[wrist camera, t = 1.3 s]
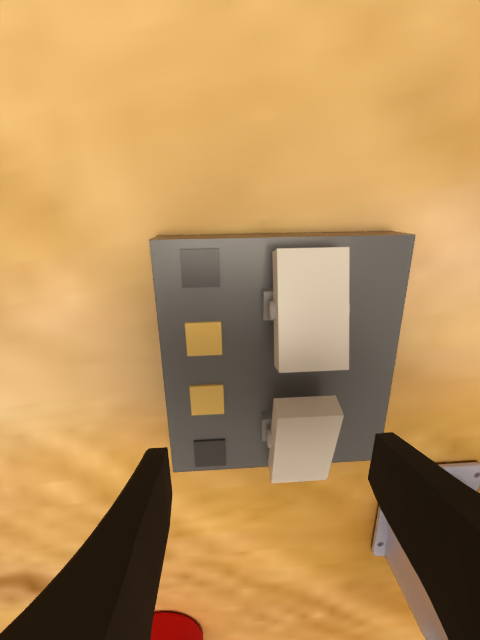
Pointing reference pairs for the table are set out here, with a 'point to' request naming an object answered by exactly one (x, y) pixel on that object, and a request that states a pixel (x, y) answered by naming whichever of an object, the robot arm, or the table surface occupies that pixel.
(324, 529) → the table surface
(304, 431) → the rocker
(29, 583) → the table surface
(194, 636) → the soda can
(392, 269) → the switch unit
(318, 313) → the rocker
